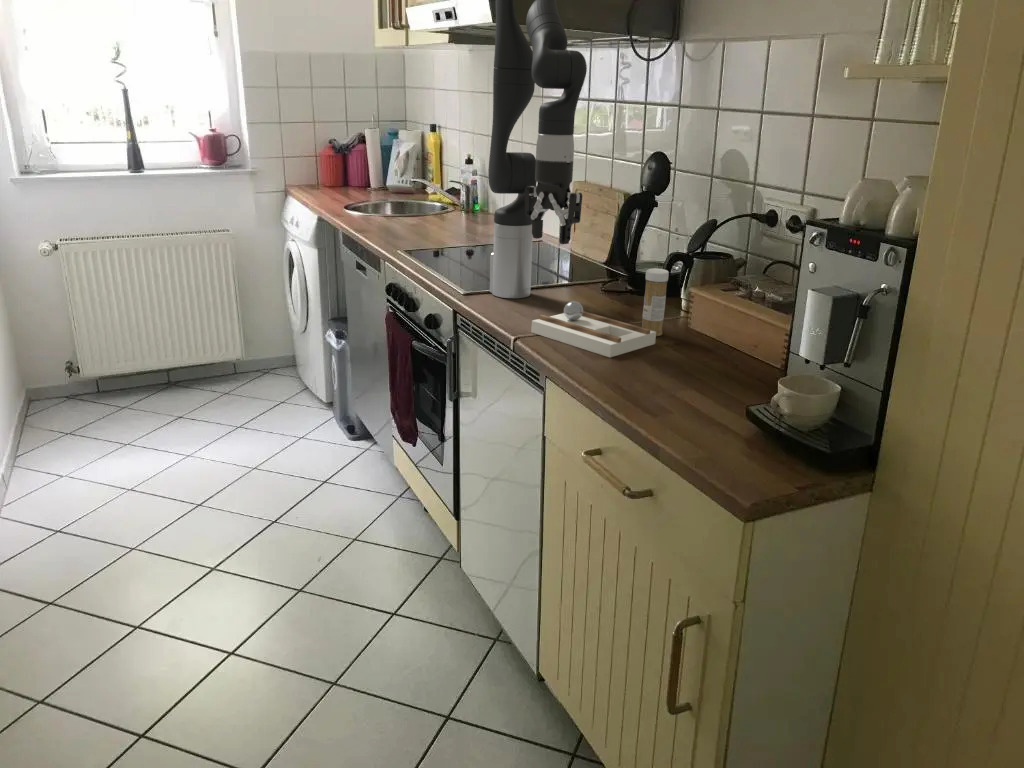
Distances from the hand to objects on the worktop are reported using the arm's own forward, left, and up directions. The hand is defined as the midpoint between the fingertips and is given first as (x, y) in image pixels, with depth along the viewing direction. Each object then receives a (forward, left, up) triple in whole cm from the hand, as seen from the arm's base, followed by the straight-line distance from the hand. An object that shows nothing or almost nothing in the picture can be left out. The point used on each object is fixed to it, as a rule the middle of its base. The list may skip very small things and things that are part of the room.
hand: (550, 240), depth 167 cm
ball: (+8, 0, -13) cm, 15 cm away
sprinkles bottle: (+19, +12, -18) cm, 29 cm away
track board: (+13, 0, -18) cm, 22 cm away
